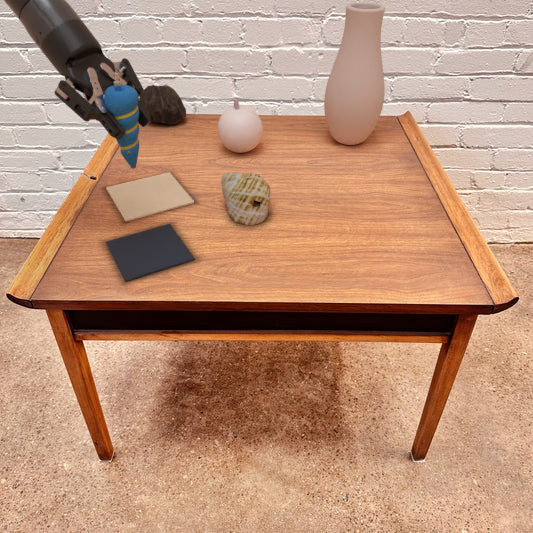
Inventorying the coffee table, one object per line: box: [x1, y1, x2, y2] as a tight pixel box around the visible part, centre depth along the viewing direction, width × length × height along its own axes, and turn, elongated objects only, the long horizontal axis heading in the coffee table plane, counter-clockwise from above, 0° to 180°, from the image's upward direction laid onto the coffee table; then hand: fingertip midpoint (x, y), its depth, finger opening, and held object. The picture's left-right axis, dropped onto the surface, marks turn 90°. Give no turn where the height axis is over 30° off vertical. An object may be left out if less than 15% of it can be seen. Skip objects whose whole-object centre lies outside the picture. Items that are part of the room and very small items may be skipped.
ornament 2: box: [217, 98, 264, 154], centre depth 111 cm, size 10×10×12 cm
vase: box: [323, 1, 386, 146], centre depth 110 cm, size 14×14×30 cm
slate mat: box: [105, 223, 196, 283], centre depth 83 cm, size 12×12×1 cm
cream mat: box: [105, 171, 195, 223], centre depth 98 cm, size 14×14×1 cm
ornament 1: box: [104, 77, 140, 170], centre depth 75 cm, size 5×5×15 cm
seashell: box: [220, 172, 271, 226], centre depth 92 cm, size 10×10×10 cm
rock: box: [139, 84, 187, 125], centre depth 125 cm, size 10×11×10 cm
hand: (134, 129), depth 74 cm, fingers closed on ornament 1, 5 cm apart
